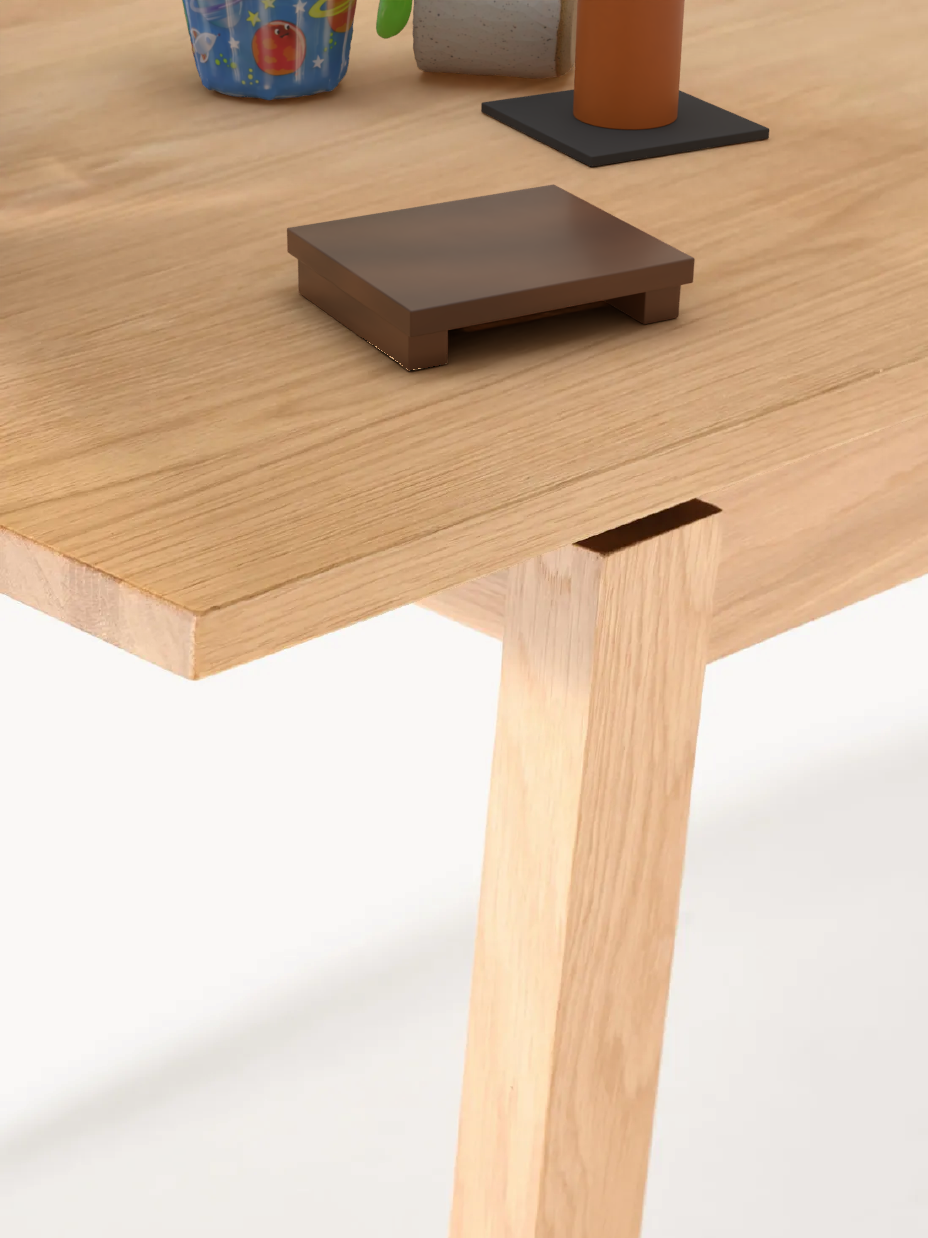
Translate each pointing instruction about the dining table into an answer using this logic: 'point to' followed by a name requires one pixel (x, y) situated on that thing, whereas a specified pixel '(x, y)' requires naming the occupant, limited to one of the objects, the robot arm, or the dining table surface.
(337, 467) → the dining table surface
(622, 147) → the mat
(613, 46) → the spice bottle
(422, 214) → the low wooden stand
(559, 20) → the ceramic mug
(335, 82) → the snack cup
